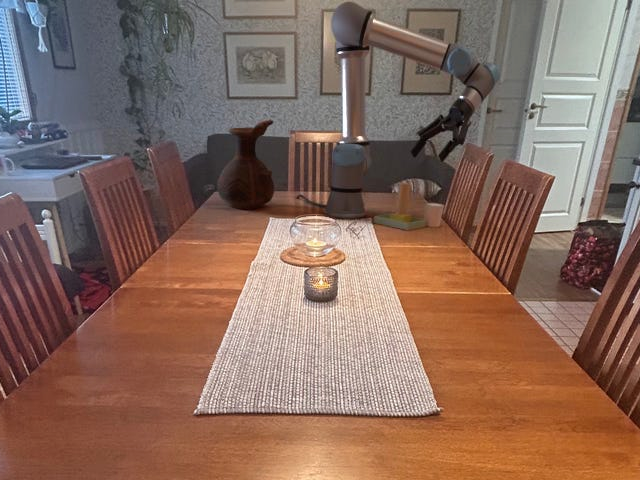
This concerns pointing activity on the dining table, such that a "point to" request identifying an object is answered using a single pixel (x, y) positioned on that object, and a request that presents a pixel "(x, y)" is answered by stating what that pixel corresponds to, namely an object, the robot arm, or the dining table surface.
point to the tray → (399, 222)
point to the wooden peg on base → (402, 204)
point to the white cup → (433, 214)
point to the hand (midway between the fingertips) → (426, 156)
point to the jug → (246, 172)
